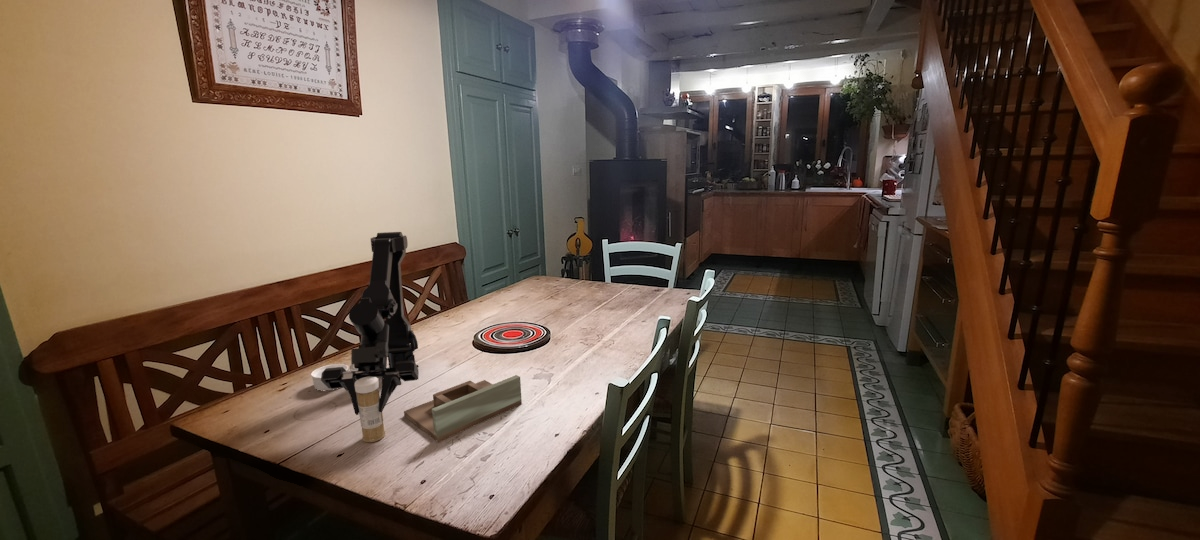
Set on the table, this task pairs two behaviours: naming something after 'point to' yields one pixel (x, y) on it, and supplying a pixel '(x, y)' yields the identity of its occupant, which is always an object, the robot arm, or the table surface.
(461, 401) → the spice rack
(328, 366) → the ramekin
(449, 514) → the table surface
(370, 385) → the sprinkles bottle
